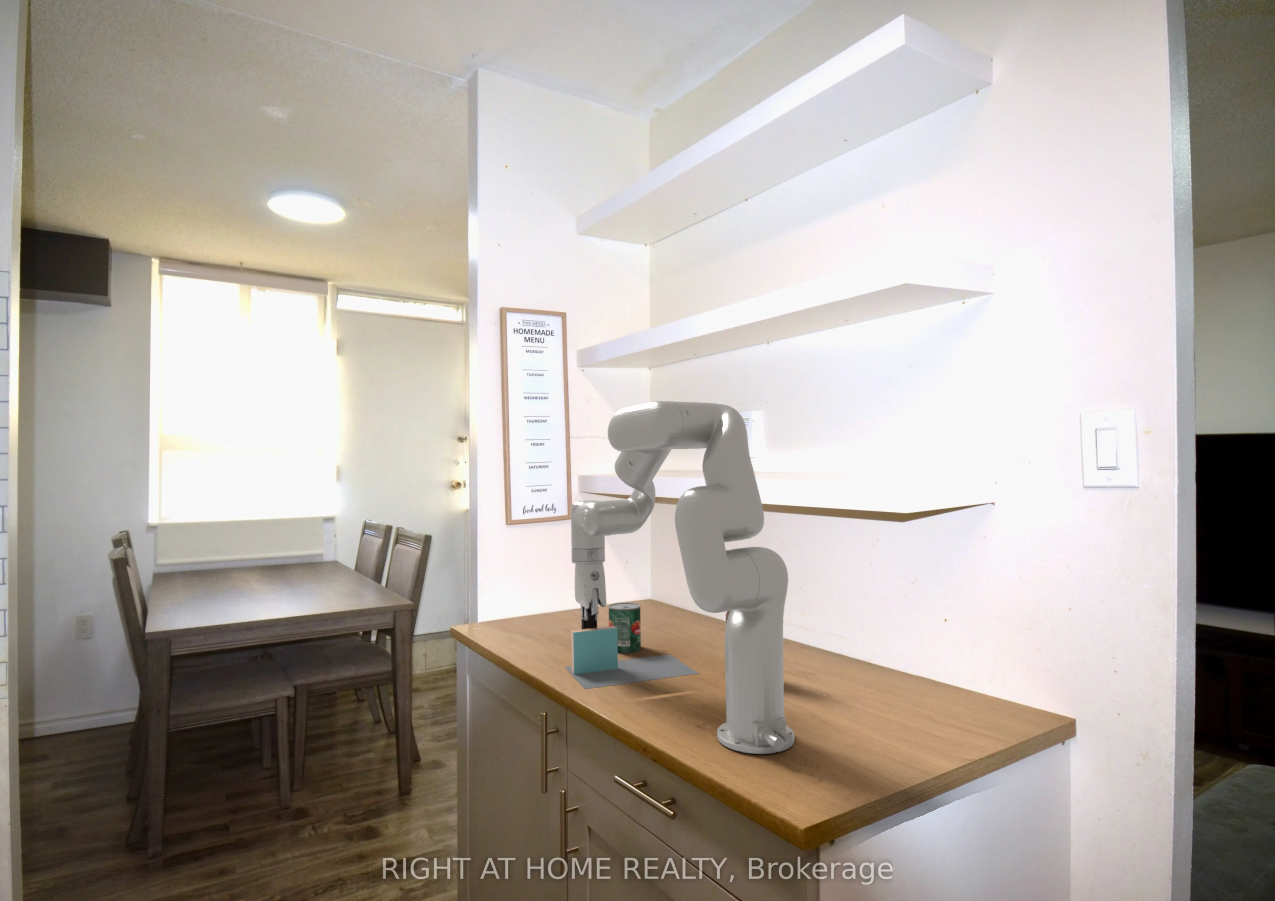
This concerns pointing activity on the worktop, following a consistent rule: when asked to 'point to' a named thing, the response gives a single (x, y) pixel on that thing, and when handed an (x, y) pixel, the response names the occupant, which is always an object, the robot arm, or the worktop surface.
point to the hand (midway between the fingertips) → (589, 636)
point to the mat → (635, 671)
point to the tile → (594, 650)
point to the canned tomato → (626, 626)
